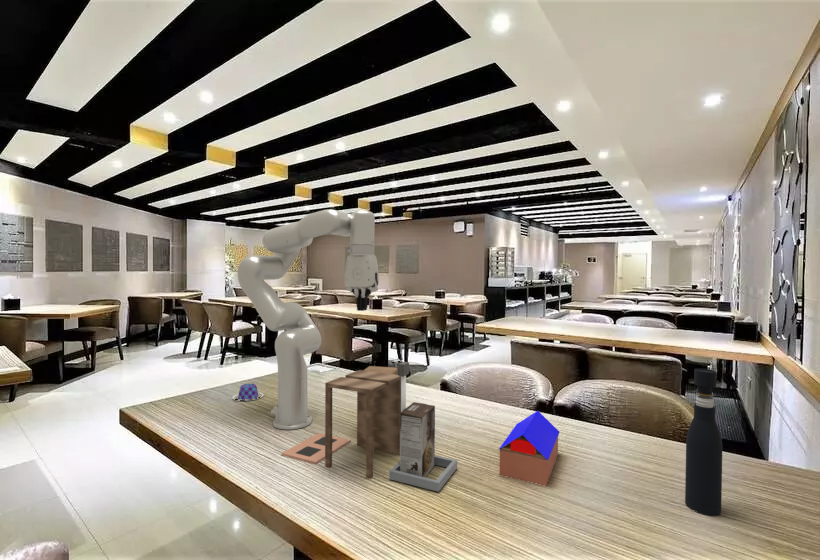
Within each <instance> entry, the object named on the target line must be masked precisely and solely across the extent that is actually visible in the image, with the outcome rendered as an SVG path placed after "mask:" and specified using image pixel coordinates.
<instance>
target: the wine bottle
mask: <svg viewBox="0 0 820 560" xmlns="http://www.w3.org/2000/svg"><path fill="white" fill-rule="evenodd" d="M693 374H694V378H693V379H694V381H693V385H695V386H697V395H696V397H695V401H694V402H695V403H694V405H693V418H692V420H691V422H690V424H689V426H688V430H687V434H686V439H685V480H684V481H685V482H684V483H685V485H684V487H685V489H684V491H685V492H684V494H685V495H684V503H685V505H686V507H688V508H689V507H690V508H691V509H690V508H689V509H690V510H692V509H693V510H695V511H694V512H696V511H697V512H696V513H698V514H701V515H704V516H710V517H711V516H712V517H716V516H720V515H721V514H722V496H723V493H722V492H723V489H722V488H723V487H722V484H723V441H722V440H723V439H722V435H721V432H720V429H719V427H718V424H717V421H716V407H715V400H714V397H713V389H714V388H717V371H715V370H713V369H707V368H694V373H693ZM693 510H692V511H693Z"/></svg>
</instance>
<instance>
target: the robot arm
mask: <svg viewBox="0 0 820 560" xmlns="http://www.w3.org/2000/svg"><path fill="white" fill-rule="evenodd" d="M375 231H376V230H375V214H374V213H373V212H372V211H368V210H355V211H352V212H351V213H348V212H345V211H340V210H336V209H330V208H329V209H328V208H327V209H323V210H319V211H316V212H312V213H308V214H307V215H305V216H303V217H302V218H301V219H300V220H298V221H295V222H291V223H289V224H284V225H281V226H277V227H274V228H271V229H269V230H267V231H265V233H264V234H263V236H262V245H263V246H264V248H265V249H266V250H267V251H269V252H270V253H273V254H272V255H262V254H259V255H258V254H257V255H256V254H255V255H248V256H246V257H244V258H243V259H242V260H241V261H240V262H239V264H238V268H237V280H238V285H239V286H240V288H241V289H242V291H243V292H244V294H245V295H246V297H247V298H248V299H249V301H250V302H251V303H252V305H253V307H254V309H255V310H256V312H257V313H258V315H259V316H260V318H261V320H262V321H263V323H264V324H265V326H266V327H267V329H268V330H269V331H272V332H281V331H282V332H281V333H279V334H278V336H277V337H276V338H275V341H274V351H275V355H276V360H277V363H276V364H277V406H273V408H272V410H271V411H270V415H275V418H274V419H273V421H272V426H273V427H275V429H279V430H286V431H287V430H297V429H299V430H300V429H301V428H305V427H307V426H309V425H310V424H312V422H313V417H312V416H311V415H310V414H308V366H307V363H306V361H305V357H304V356H305V355H308V354H309V355H310V354H312V353H314V352H316V351H317V350H319V349H320V347H321V345H322V336H321V333H320V331H319V329H318V327H317V325H316V324H315V323H314V321H313V320H312V318H311V316H310V315H309V313H308V312H307V310H306V309H305V308H304V306H302V304H299V302H295V301H287V302H286V301H285V302H284V301H282V299H281V298H280V297H279V295H278V293H277V292H276V290H275V289H274V288H273V287H272V286H271V285H269V283H267V282H266V280H267V281H268V280H270V281H271V280H280V279H282V278H283V277H285V275H286V274H287V273H288V272H289V270H290V268H291V266H292V265H293V263H294V261H295V260H296V258H297V257H298V255H299V254H300V252H301V250H302V248H304V247H305V248H306V247H308V246H310V245H311V244H312V243H313V240H314V238H316V237H317V238H318V237H321V236H325V235H334V236H340V237H346V238H347V237H350V238H349V247H348V248H347V249H346V251H347V252H348V253H349V255H347V258H346V263H345V269H344V286H345V287H346V291H348V292H351V293H352V294H354V297H355V298H356V311H358V312H360V311H363V312H364V311H367V310H368V298H369V297H370V295H371V294H372V293H375V292H378V291H379V290H378V289H379V288H378V286H379V281H380V280H379V279H380V277H379V265H378V259H377V256H376V255H375V236H376V235H375V234H376V233H375Z"/></svg>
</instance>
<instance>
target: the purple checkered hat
mask: <svg viewBox="0 0 820 560" xmlns="http://www.w3.org/2000/svg"><path fill="white" fill-rule="evenodd" d="M258 393H260V394H262V396H261V397H260V398H258V397H257V396H259V394H258ZM237 395H238V398H237V399H238V400H237V401H239V402H240V400H239V399H242V400H245V399H252V401H254V400H259V399H261V398H262V397H264V395H265V394H264V393H263V392H259V391H258V387H257V385H256V384H255V383H245V384H242V385H240V387H239V391H238V393H237V394H234V395H233V396H232V397H231V398H232V400H234V401H236V400H235V399H234V397H235V396H237ZM253 398H257V399H253ZM246 401H250V400H245V401H244V402H246Z"/></svg>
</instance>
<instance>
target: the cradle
mask: <svg viewBox="0 0 820 560" xmlns="http://www.w3.org/2000/svg"><path fill="white" fill-rule="evenodd" d="M397 368H398V376H401V412H402V411H403V410H404V409H406V408H407V405H406V404H407V402H406V401H407V393H406V392H407V376H408V375H409V374H410V362H409V361H408V362H407V361H402V362H399V363H398V364H397ZM434 466H440V467H444V468H445V469H444V470H443V472H442V473H441V474H440V475H439V476H438V477H437V479H432V478H430V477H421V476H417V475H413V474H409V473H405V472H401V471H400V461H398V462H397V463H396V464H395V465H394V466H392V468H391V469H389V470H388V471H389V472H388V479H389V480H391V481H396V482H400V483H403V484H407V485H411V486H414V487H415V486H416V487H419V488H422V489H426V490H430V491H435V492H440V490H441V489H442V488H443V487H444V486H445V484H446V483H447V481H448V480H450V478H451V477H452V476H453V474H454V472H455V471H456V470H457V468H458V459H453V458H449V457H444V456H442V455H441V456H440V455H436V454H435V465H434Z"/></svg>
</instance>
